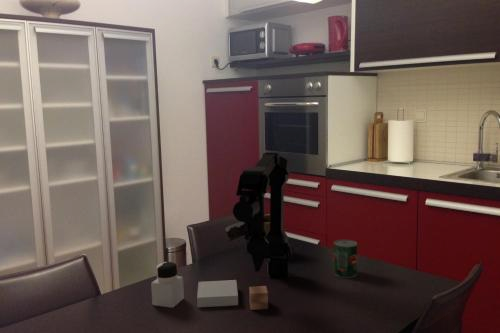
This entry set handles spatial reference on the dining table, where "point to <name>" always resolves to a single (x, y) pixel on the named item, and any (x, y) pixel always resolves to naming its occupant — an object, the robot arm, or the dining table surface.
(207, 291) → the grey base
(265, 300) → the terracotta cube
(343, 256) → the canned tomato
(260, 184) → the robot arm
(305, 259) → the dining table surface
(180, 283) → the medicine bottle
